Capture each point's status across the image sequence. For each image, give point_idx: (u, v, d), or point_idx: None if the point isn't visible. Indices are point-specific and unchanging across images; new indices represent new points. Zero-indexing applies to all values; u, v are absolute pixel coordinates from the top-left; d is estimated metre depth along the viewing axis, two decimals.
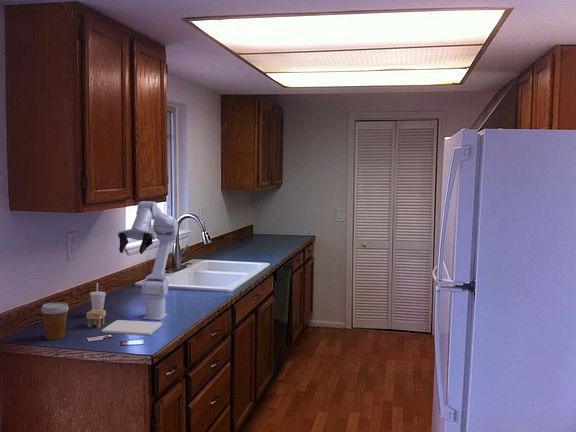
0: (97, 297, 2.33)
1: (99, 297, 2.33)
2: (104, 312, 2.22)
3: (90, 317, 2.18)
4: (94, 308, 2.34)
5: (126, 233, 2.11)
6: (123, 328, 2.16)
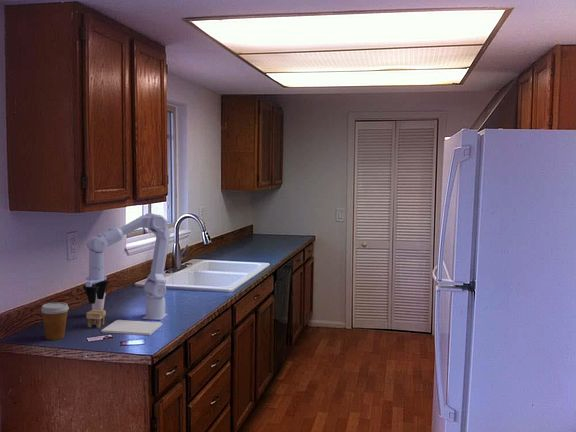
0: None
1: None
2: (104, 312, 2.22)
3: (90, 317, 2.18)
4: (94, 308, 2.34)
5: None
6: (123, 328, 2.16)
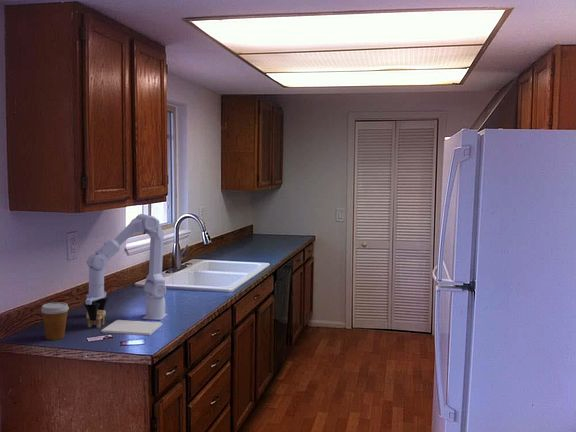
0: None
1: None
2: (104, 312, 2.22)
3: None
4: None
5: None
6: (123, 328, 2.16)
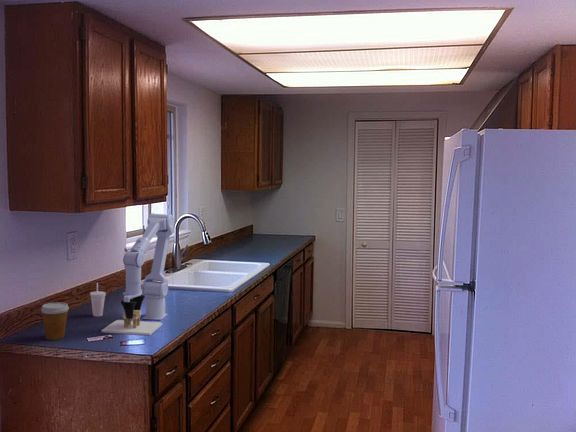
0: (97, 297, 2.33)
1: (99, 297, 2.33)
2: (140, 312, 2.20)
3: None
4: (94, 308, 2.34)
5: None
6: (123, 328, 2.16)
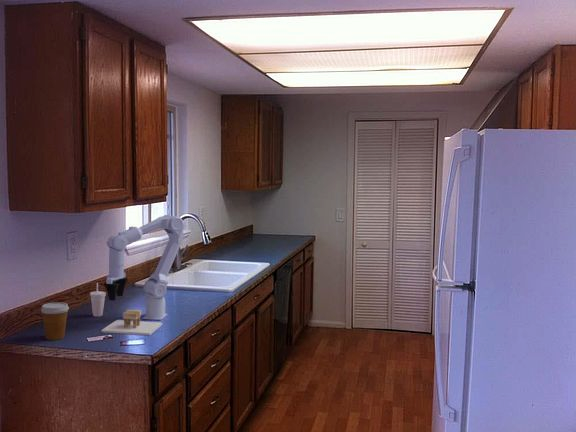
0: (97, 297, 2.33)
1: (99, 297, 2.33)
2: (140, 312, 2.20)
3: (126, 317, 2.16)
4: (94, 308, 2.34)
5: None
6: (123, 328, 2.16)
